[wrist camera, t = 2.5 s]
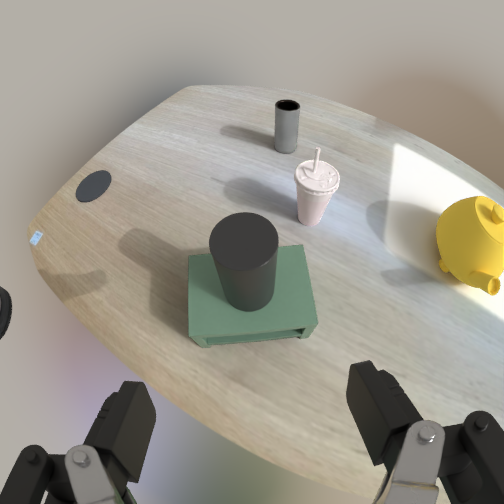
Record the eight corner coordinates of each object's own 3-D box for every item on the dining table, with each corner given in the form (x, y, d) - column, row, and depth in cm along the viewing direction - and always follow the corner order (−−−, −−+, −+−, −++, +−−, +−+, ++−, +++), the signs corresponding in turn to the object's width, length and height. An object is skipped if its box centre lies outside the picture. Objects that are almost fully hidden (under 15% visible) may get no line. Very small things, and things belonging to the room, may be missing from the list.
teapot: (484, 331, 32) (538, 299, 20) (417, 301, 36) (467, 257, 24) (486, 241, 41) (522, 199, 29) (429, 210, 45) (460, 158, 33)
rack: (201, 348, 34) (188, 336, 28) (199, 279, 39) (188, 255, 33) (308, 337, 35) (318, 323, 29) (297, 270, 40) (302, 244, 34)
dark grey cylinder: (233, 319, 29) (220, 280, 21) (218, 275, 32) (201, 224, 23) (282, 301, 30) (289, 256, 21) (263, 259, 33) (263, 204, 24)
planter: (272, 141, 55) (273, 99, 46) (293, 140, 55) (296, 99, 46) (276, 154, 52) (277, 111, 44) (298, 153, 53) (302, 110, 44)
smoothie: (302, 196, 47) (311, 129, 35) (334, 214, 44) (354, 148, 32) (282, 220, 44) (287, 152, 32) (316, 240, 42) (333, 174, 30)
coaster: (75, 208, 48) (74, 207, 48) (78, 180, 53) (77, 179, 52) (111, 192, 50) (110, 191, 49) (111, 166, 54) (110, 165, 54)
